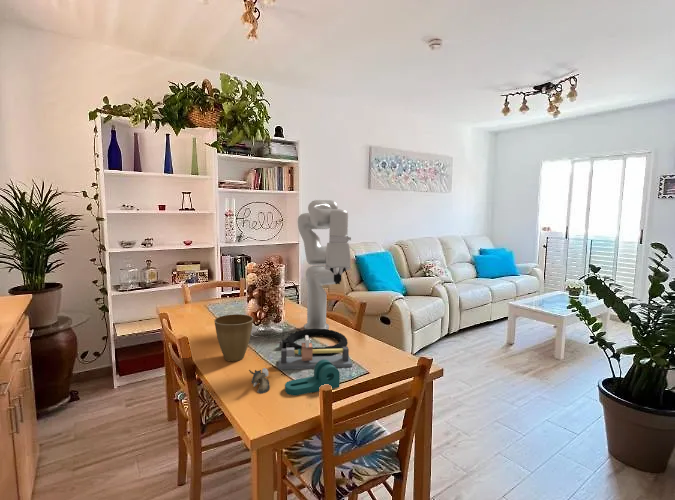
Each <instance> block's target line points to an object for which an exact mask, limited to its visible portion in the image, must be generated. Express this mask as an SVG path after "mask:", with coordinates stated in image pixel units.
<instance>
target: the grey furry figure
mask: <svg viewBox="0 0 675 500" xmlns="http://www.w3.org/2000/svg"><path fill="white" fill-rule="evenodd" d="M248 371H249V373H251V374H252V377H251V378H252V379H251V385H253V386H252V388H255V387H256V386H257V385H258V389H257V391H256V392H257V393H258V394H260V395H261V394H266V393H267V392H269V390H270V387H271V386H270V381H269V379H268V378H266V377H269V370H268V368H266V367H263V368H262V369H259V370H256V369H255V370H254V372H253V371H252V370H251V369H249V370H248Z"/></svg>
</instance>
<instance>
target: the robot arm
mask: <svg viewBox="0 0 675 500" xmlns="http://www.w3.org/2000/svg"><path fill="white" fill-rule="evenodd" d="M348 227H349V211H347V210H343V209H340V208H339V206H338V204H337V203H336V201H334V200H330V199H329V200H328V199H315V200H312V201H311V202H309V204H308V205H307V212H303V213H301V214H300V215H298V218H297V228H298V232H299V234H300V237H301V238H302V242H303V247H304V253H305V258H306V259H305V260H306V262H307V264H308V265H310V267H308V268H307V269H306V271H305V278H306V290H307V292H306V293H307V297H306V298H307V302H306V303H307V305H306V308H307V310H306V311H307V313H306V315H307V316H306V321H307V322H306V323H305V324H304V325H303V330H304V329H327V330H330V329H329V328H330V324H328V323H327V292H326V290H325V289H324V287H322V286H324V285H325V286H326V285H327V286H328V285H341V282H342V275H343V273H344V272H346V271H350V270H351V249H350V243H349V241H351V240H352V237H351V236H349V235H348V232H349V231H348V230H349V229H348ZM314 230H329V234H328V235H329V236H328V238H329V239H328V241H329V242H327V243H326V246H324V245H322V244H321V239H320V237H319V235H317V233H316V232H315V231H314ZM311 265H312V266H311Z"/></svg>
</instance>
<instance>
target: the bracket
mask: <svg viewBox="0 0 675 500" xmlns="http://www.w3.org/2000/svg"><path fill="white" fill-rule="evenodd" d="M340 375H341V374H340V371H339V370H338V367H335V366H333V364H332V363H331V362H330V361H328V360H325V359H324V360H320V361H319V362H318V363H317V364H316V365H315V367H314V368H313V376H309V377H308V376H307V377H302V378H298V379H296V378H295V379H291V380H289V381H287V382H285V384H284V393H286V395H289V396H300V395H305V394H307V395H308V394H311V393H315V392H316V393H317V392H320V391H319V387H320V386H321V385H324V384H329V385H331V386H332V388H333V389H336V388H340V379H341V378H340V377H341V376H340Z"/></svg>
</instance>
